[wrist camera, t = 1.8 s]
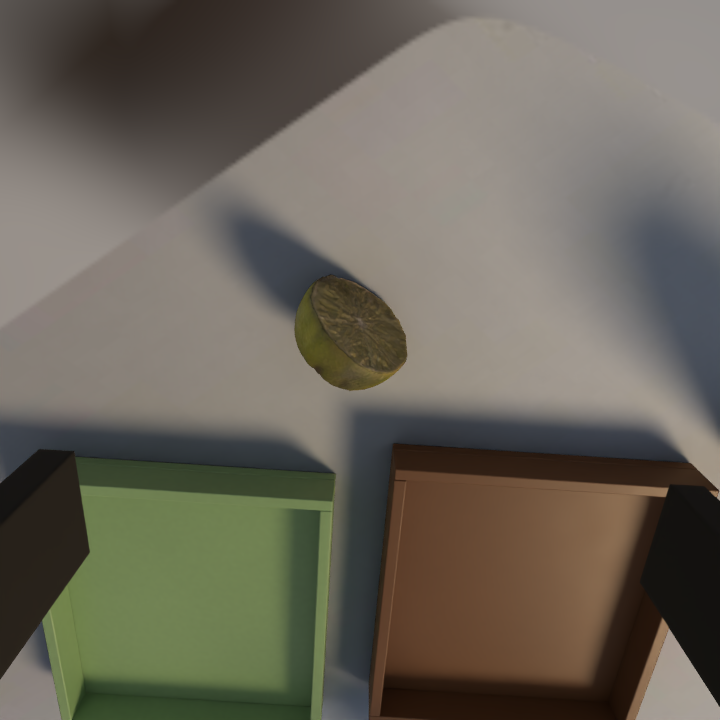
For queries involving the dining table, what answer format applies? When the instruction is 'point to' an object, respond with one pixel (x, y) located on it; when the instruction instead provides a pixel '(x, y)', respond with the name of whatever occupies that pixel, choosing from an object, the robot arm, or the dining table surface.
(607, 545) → the walnut tray
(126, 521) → the green tray
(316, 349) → the lime
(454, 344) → the dining table surface
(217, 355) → the dining table surface
